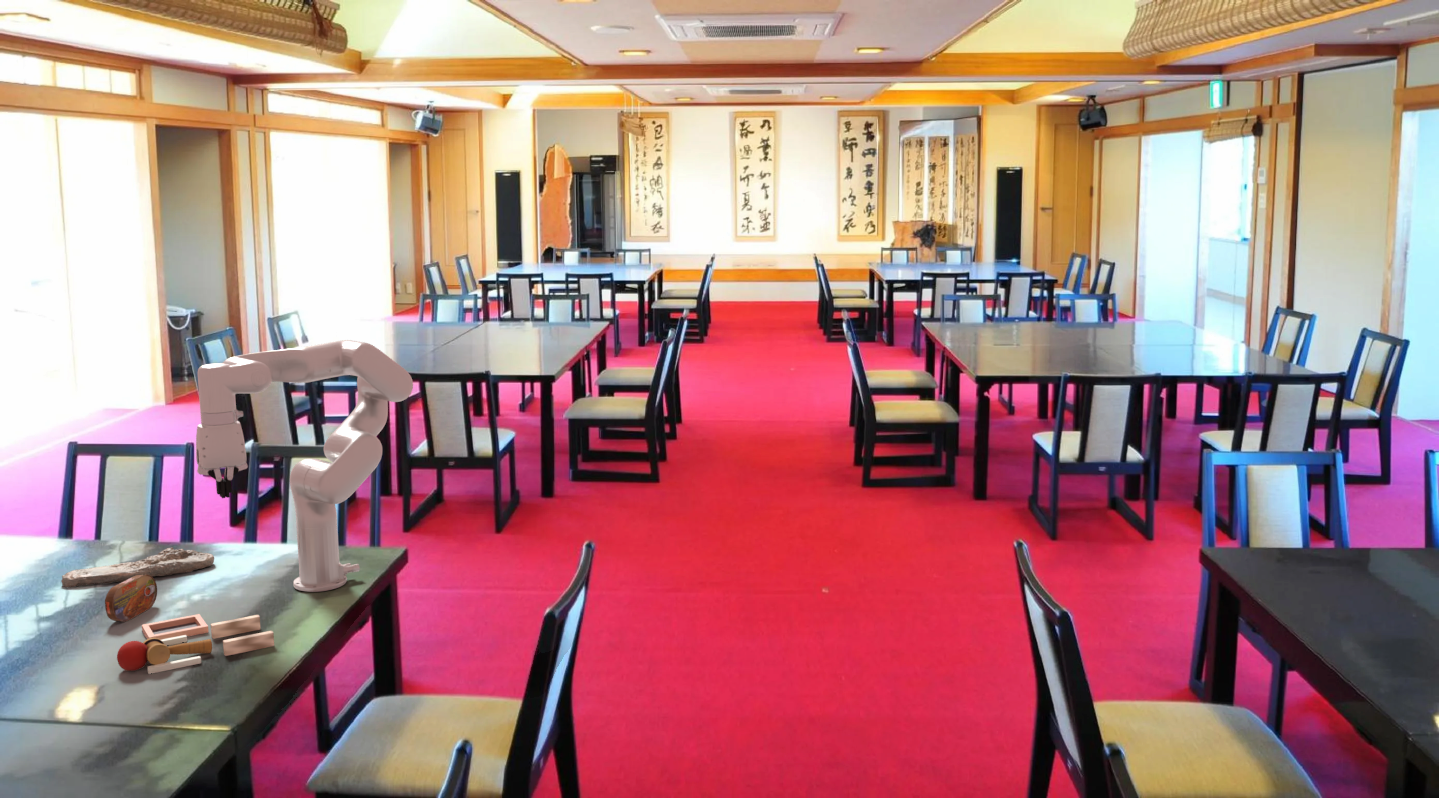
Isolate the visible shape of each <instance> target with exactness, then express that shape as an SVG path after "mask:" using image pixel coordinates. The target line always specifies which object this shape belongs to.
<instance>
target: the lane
mask: <svg viewBox="0 0 1439 798" xmlns="http://www.w3.org/2000/svg"><path fill="white" fill-rule="evenodd" d="M260 617H261V616H260V615H259V614H254V615H249V616H245V617H239V618H234V619H229V620H228V619H227V620H223V621H219V622H213V623H210V632H211V634H210V635H211V638H212V640H215V639H220V638H223V637H229V636H230V637H231V636H235V635H238V634H240V635H241V634H245V633H250V632H254V631H255V632H256V631H260V630H262V629H261V628H262V627H261V618H260ZM274 637H275V636H274V631H273V630H267V631H263V632H259V633H258V632H257V633H252V634H247V635H242V636H238V637H234V638H233V637H232V638H228V639H224V640H222V648H223V655H224V656H225V657H228V656H231V655H239V654H242V653H246V652H251V651H256V650H261V649H265V648H271V647H275V638H274Z"/></svg>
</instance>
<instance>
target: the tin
mask: <svg viewBox="0 0 1439 798" xmlns="http://www.w3.org/2000/svg"><path fill="white" fill-rule="evenodd" d="M157 596H158V586H157V582H156V580H155V578H154V576H150V575H136V576H134V577H132V578H130V579H128V580H126V581H122V582H119V583H118V584H115V585H114V586H112V587H111V588H110V589H109V590H108V591H107V594H106V595H105V599H104V608H105V611H106V612H105V613H106V615H107V617H108V618H109V620H111V621H115V622H122V623H125V622H128V621H130V620H133V619H134V618H136V617H137V616H139V615H141V614H143V613H145V612H146V611H148V610H150V609H151V608H152V607H153V606H154V604H155V602H156V600H157Z"/></svg>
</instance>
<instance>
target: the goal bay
mask: <svg viewBox="0 0 1439 798" xmlns="http://www.w3.org/2000/svg"><path fill="white" fill-rule="evenodd" d="M161 641H162V642H163V643H164V645H166V646H167V645H169V646H173V645H177V644H183V643H182V642H184V643H188V637H187V636H186V635H182V636H177V637H172V638H167V639H162V640H161ZM167 647H168V646H167ZM198 664H199V665H200V664H202V658H201V655H198V656H197V655H196V656H192V657H188V658H182V659H178V660H174V661H173V660H172V661H167V662H166V663H162V664H157V665H153V664H152V665H147V666H146V667H147V673H148V675H150V674H151V673H152V674H156V673H161V672H165V671H170V670H175V669H180V668H184V667H185V668H186V667H189V666H193V665H198Z"/></svg>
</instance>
